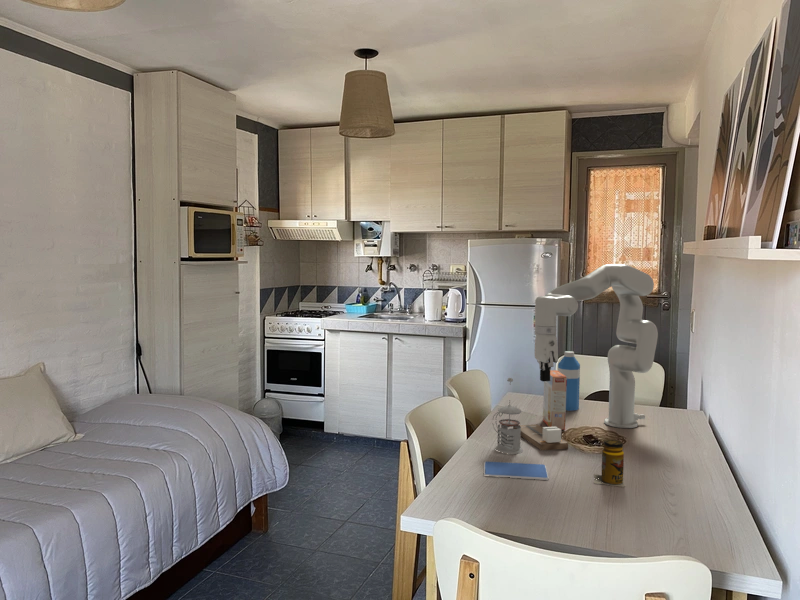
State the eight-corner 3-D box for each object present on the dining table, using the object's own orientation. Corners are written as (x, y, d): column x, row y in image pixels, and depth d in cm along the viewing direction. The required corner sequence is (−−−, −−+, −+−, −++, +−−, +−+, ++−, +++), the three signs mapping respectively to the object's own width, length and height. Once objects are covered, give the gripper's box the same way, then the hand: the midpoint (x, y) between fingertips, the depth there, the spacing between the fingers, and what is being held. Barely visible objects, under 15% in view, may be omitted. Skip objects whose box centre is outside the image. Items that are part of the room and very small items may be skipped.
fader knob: (555, 438, 209) (555, 426, 209) (561, 441, 205) (561, 429, 205) (542, 439, 208) (542, 427, 208) (547, 442, 204) (548, 430, 204)
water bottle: (558, 410, 258) (559, 353, 257) (555, 405, 268) (557, 349, 266) (580, 411, 257) (581, 353, 255) (577, 406, 266) (579, 350, 264)
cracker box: (566, 430, 228) (567, 376, 226) (550, 430, 228) (551, 376, 226) (557, 420, 242) (558, 369, 240) (542, 420, 242) (543, 369, 240)
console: (537, 429, 229) (537, 423, 229) (568, 448, 206) (568, 442, 205) (513, 430, 227) (513, 425, 227) (541, 450, 203) (541, 444, 203)
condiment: (624, 487, 171) (626, 446, 170) (594, 483, 174) (595, 443, 173) (623, 478, 178) (624, 439, 177) (593, 475, 180) (594, 436, 180)
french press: (511, 456, 197) (512, 381, 196) (484, 447, 206) (485, 376, 204) (529, 450, 204) (530, 378, 202) (502, 442, 212) (503, 373, 211)
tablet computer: (483, 478, 179) (483, 474, 179) (483, 464, 191) (484, 460, 191) (549, 482, 176) (549, 478, 176) (545, 468, 188) (545, 463, 188)
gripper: (565, 332, 208) (564, 384, 209) (545, 327, 222) (545, 376, 224) (545, 333, 206) (544, 385, 207) (527, 328, 221) (526, 377, 222)
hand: (545, 380), depth 215 cm, fingers closed
